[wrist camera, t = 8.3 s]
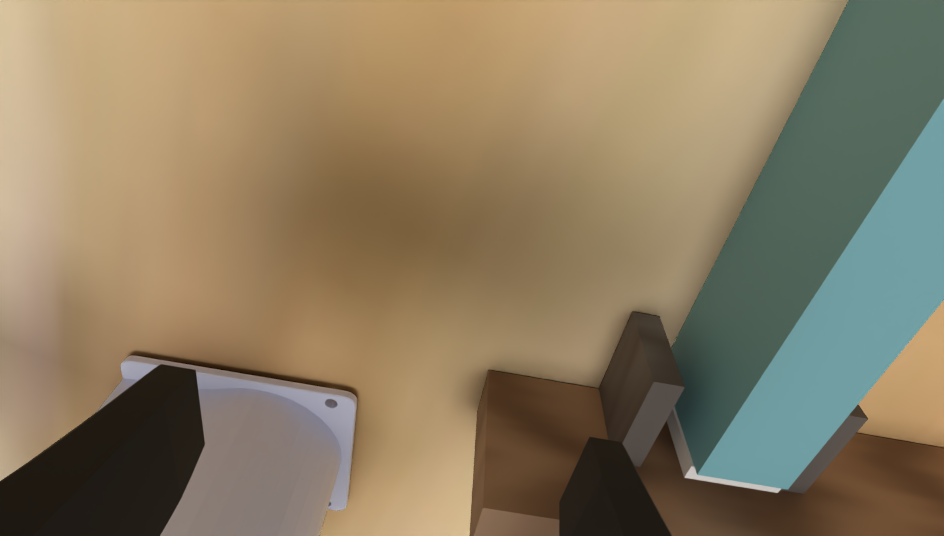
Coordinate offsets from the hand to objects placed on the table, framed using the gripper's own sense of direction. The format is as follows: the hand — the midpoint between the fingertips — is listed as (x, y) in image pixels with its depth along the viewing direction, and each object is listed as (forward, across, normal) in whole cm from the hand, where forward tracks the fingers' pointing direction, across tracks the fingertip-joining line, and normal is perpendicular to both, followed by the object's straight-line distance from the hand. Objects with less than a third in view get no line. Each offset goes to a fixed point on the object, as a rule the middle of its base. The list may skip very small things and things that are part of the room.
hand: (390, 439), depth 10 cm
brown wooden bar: (+9, -13, +6) cm, 17 cm away
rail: (+10, -11, -2) cm, 15 cm away
